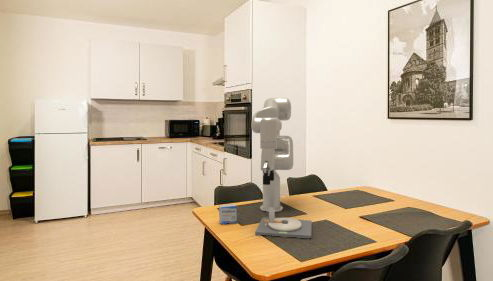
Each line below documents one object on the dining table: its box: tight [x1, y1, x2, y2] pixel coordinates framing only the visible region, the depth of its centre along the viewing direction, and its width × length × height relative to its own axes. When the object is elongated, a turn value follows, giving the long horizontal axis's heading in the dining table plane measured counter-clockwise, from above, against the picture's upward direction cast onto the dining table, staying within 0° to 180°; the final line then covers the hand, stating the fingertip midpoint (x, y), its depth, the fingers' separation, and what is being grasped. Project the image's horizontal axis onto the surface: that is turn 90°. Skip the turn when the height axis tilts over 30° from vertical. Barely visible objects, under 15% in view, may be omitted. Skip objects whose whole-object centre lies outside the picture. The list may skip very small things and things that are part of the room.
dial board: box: [254, 217, 313, 239], centre depth 148 cm, size 20×24×2 cm
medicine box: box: [218, 203, 238, 225], centre depth 157 cm, size 8×4×9 cm, turn 105°
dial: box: [264, 207, 301, 231], centre depth 148 cm, size 17×15×8 cm
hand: (268, 182), depth 148 cm, fingers open, 9 cm apart
